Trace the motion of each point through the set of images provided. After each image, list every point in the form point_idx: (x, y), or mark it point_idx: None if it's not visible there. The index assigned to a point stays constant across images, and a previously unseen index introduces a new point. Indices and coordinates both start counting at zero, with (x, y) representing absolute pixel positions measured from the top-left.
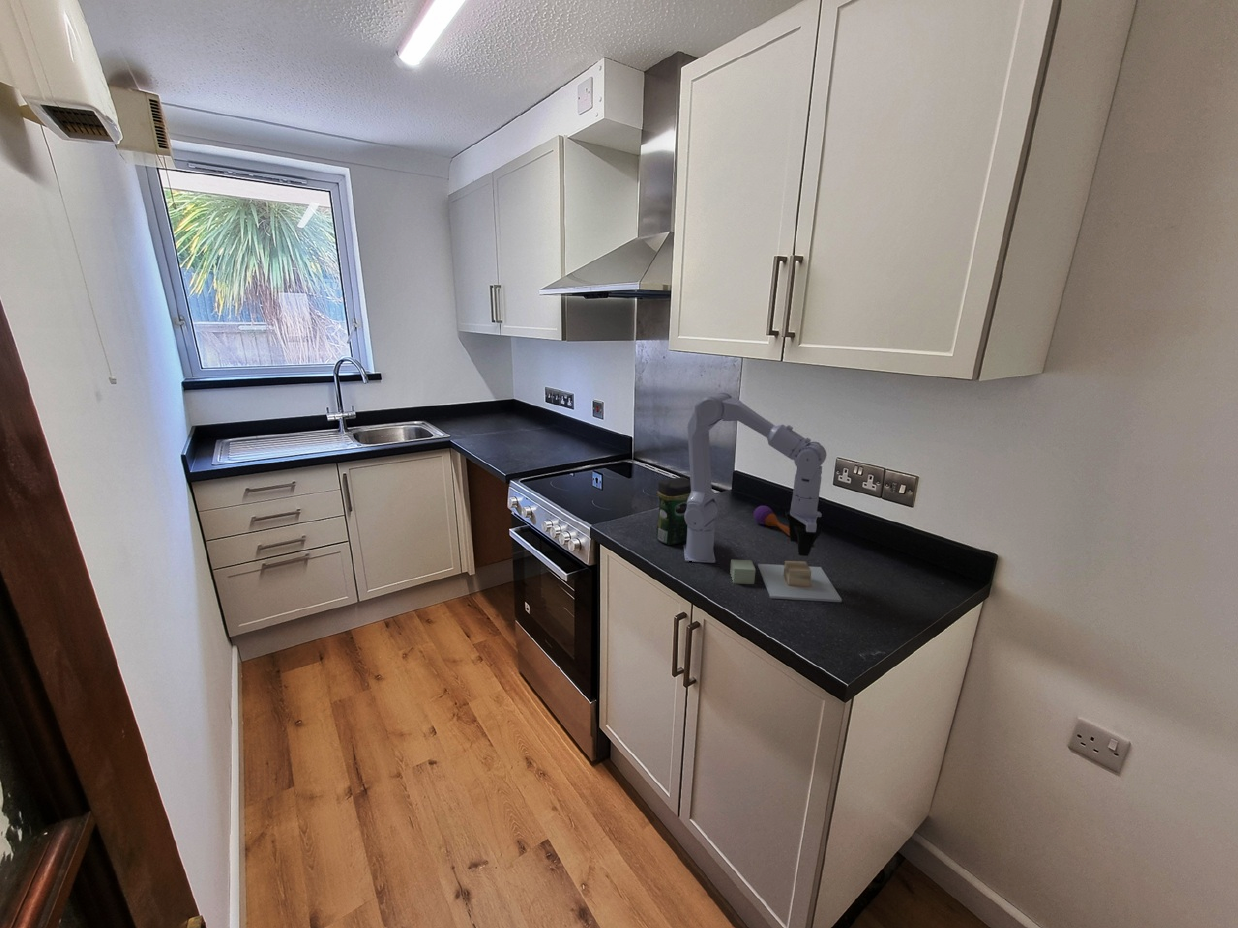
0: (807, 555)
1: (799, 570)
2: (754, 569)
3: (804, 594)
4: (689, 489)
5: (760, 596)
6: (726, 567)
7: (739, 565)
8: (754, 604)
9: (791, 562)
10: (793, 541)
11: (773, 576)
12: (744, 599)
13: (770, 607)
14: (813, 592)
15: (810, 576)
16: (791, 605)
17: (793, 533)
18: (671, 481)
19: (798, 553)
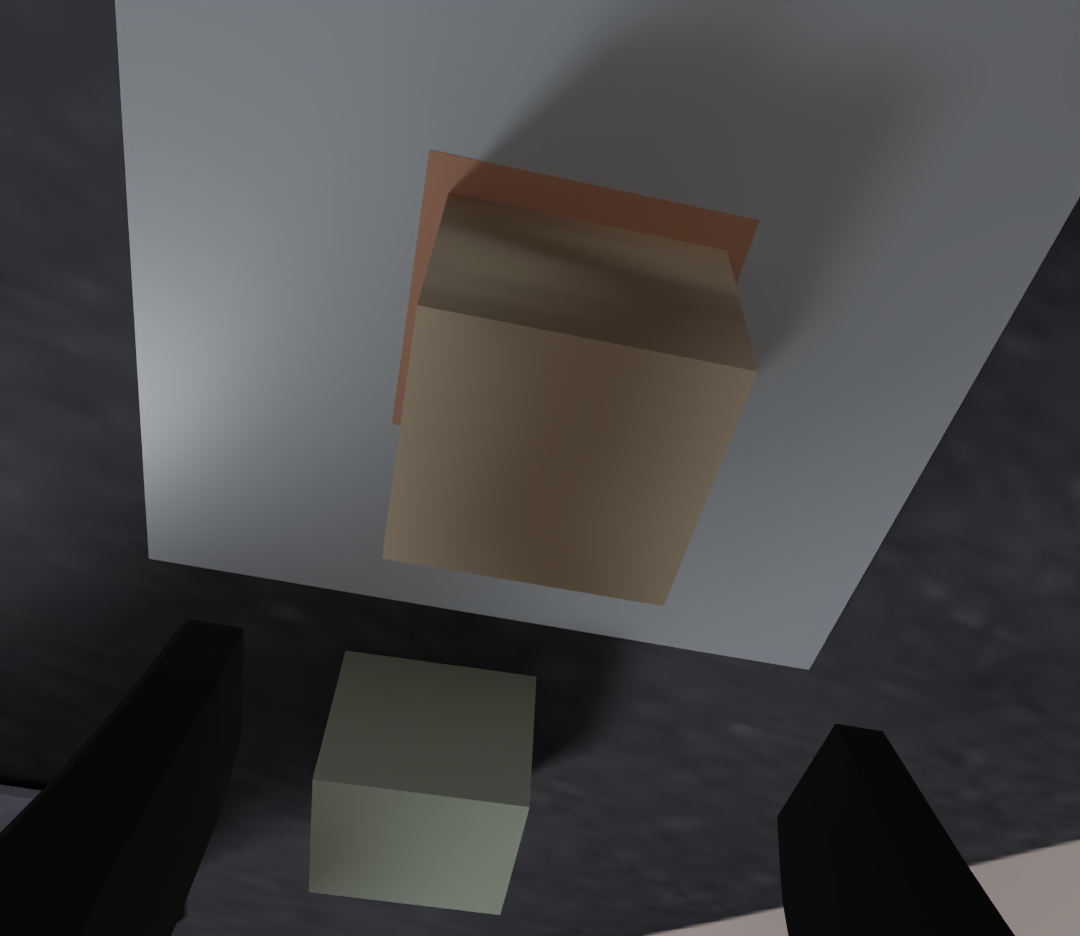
0: (886, 745)
1: (690, 508)
2: (525, 812)
3: (886, 393)
4: None
5: (752, 699)
6: None
7: (432, 875)
8: None
9: (439, 507)
10: (239, 707)
11: None
12: (765, 793)
13: (937, 694)
14: (877, 271)
15: (744, 329)
16: (977, 549)
17: (176, 879)
18: None
19: (783, 831)
